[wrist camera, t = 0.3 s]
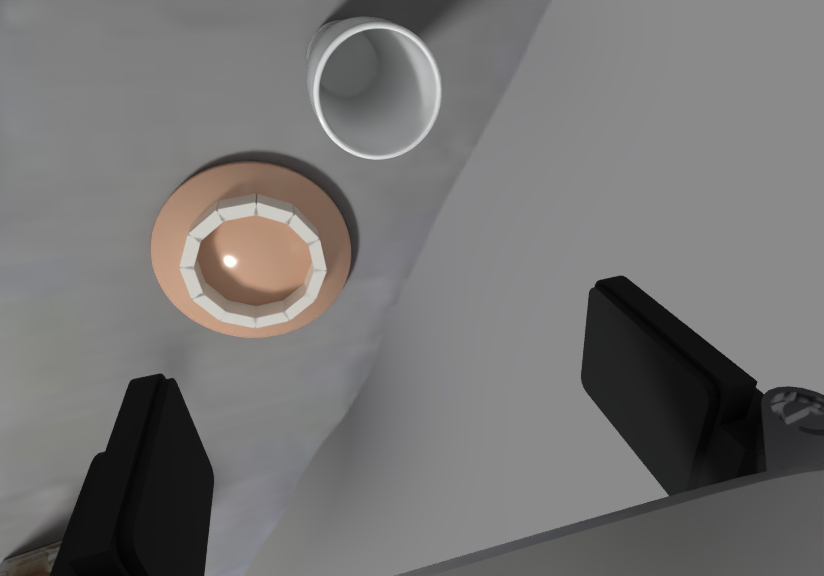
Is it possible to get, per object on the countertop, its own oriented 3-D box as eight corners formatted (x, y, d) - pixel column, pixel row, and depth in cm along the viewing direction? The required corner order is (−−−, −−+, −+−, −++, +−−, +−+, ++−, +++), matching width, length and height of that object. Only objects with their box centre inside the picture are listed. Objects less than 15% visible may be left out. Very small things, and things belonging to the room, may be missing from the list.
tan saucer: (120, 181, 39) (110, 194, 37) (331, 144, 42) (335, 154, 39) (190, 348, 48) (186, 368, 45) (362, 309, 50) (368, 327, 48)
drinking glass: (396, 22, 39) (461, 41, 26) (376, 115, 41) (424, 172, 29) (304, -5, 36) (325, 1, 24) (289, 95, 39) (301, 148, 27)
